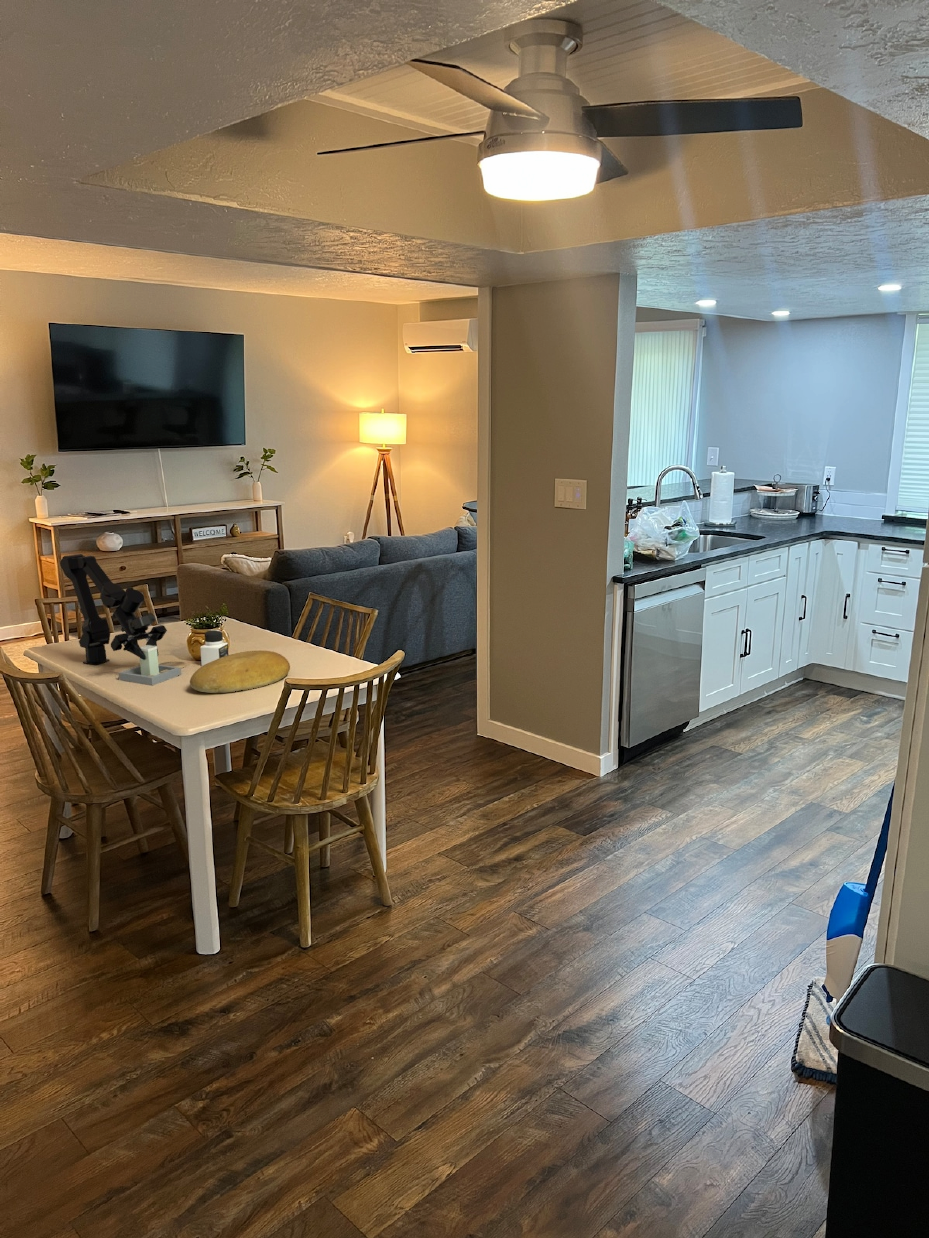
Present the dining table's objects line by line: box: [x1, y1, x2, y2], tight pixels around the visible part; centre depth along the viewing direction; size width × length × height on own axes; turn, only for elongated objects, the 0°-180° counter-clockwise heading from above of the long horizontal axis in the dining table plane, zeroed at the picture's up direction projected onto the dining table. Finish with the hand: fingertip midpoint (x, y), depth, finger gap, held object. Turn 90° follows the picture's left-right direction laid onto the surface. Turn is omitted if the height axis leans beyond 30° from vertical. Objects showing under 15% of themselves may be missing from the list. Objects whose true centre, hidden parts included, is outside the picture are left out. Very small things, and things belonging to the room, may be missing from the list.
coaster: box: [159, 661, 187, 669], centre depth 319 cm, size 10×10×1 cm
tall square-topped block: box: [139, 644, 160, 676], centre depth 305 cm, size 4×4×10 cm
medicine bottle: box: [200, 629, 230, 667], centre depth 321 cm, size 7×7×12 cm
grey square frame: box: [118, 663, 182, 686], centre depth 306 cm, size 14×13×2 cm
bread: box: [189, 649, 291, 694], centre depth 299 cm, size 18×35×10 cm, turn 139°
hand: (151, 657), depth 304 cm, fingers closed on tall square-topped block, 4 cm apart
